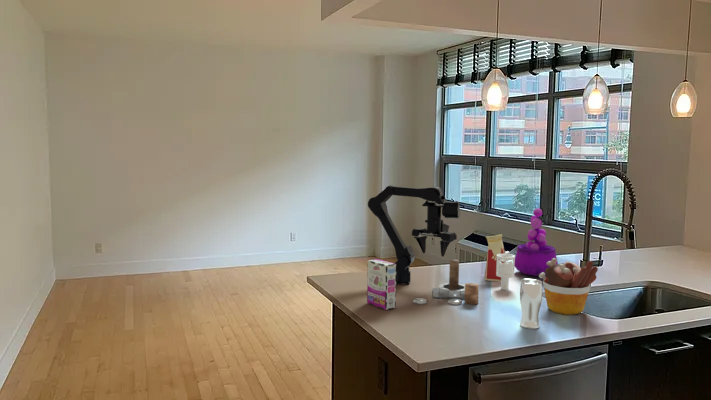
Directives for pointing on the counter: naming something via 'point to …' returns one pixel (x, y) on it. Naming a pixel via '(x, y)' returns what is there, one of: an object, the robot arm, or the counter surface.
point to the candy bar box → (381, 284)
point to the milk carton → (493, 257)
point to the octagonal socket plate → (449, 292)
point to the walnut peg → (454, 275)
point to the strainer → (505, 269)
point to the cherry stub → (471, 293)
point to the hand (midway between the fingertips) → (433, 254)
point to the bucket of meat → (567, 286)
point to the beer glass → (530, 302)
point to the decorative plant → (534, 249)
